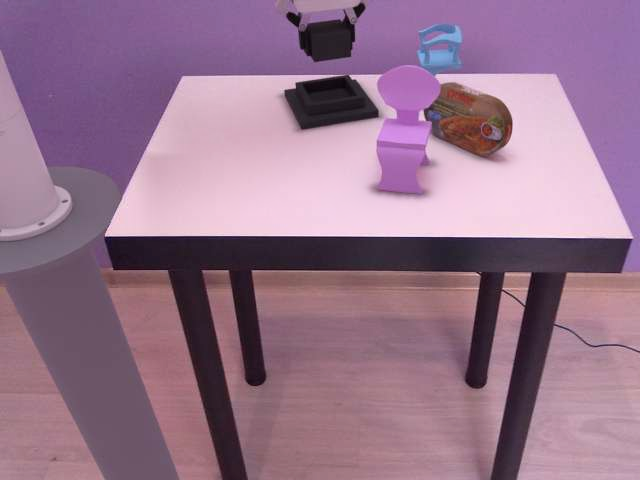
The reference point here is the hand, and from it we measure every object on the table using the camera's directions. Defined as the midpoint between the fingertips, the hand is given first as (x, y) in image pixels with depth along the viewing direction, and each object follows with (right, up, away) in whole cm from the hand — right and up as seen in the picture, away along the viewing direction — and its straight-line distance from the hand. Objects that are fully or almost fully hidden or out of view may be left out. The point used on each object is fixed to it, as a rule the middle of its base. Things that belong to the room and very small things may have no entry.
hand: (327, 49), depth 99 cm
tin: (+21, -16, -5) cm, 27 cm away
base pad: (0, -8, +6) cm, 10 cm away
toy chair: (+11, -22, -11) cm, 27 cm away
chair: (+18, -6, +8) cm, 21 cm away
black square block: (0, 0, 0) cm, 1 cm away
